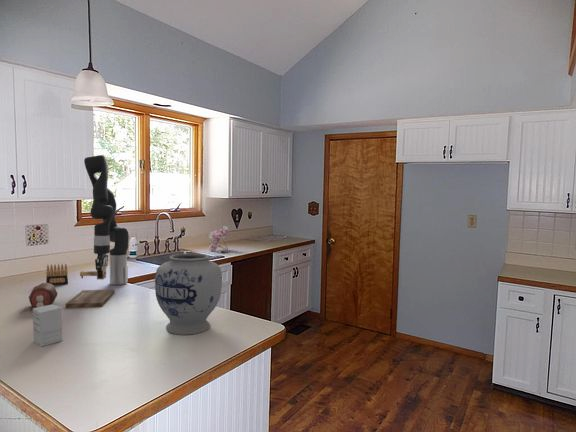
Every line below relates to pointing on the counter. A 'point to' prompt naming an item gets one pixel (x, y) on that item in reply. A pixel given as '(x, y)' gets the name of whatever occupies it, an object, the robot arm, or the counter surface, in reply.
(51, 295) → the meat
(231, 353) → the counter surface
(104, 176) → the robot arm
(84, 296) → the walnut board
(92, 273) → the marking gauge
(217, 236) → the flower
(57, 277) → the ammunition clip
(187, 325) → the apothecary jar
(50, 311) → the supplement box
